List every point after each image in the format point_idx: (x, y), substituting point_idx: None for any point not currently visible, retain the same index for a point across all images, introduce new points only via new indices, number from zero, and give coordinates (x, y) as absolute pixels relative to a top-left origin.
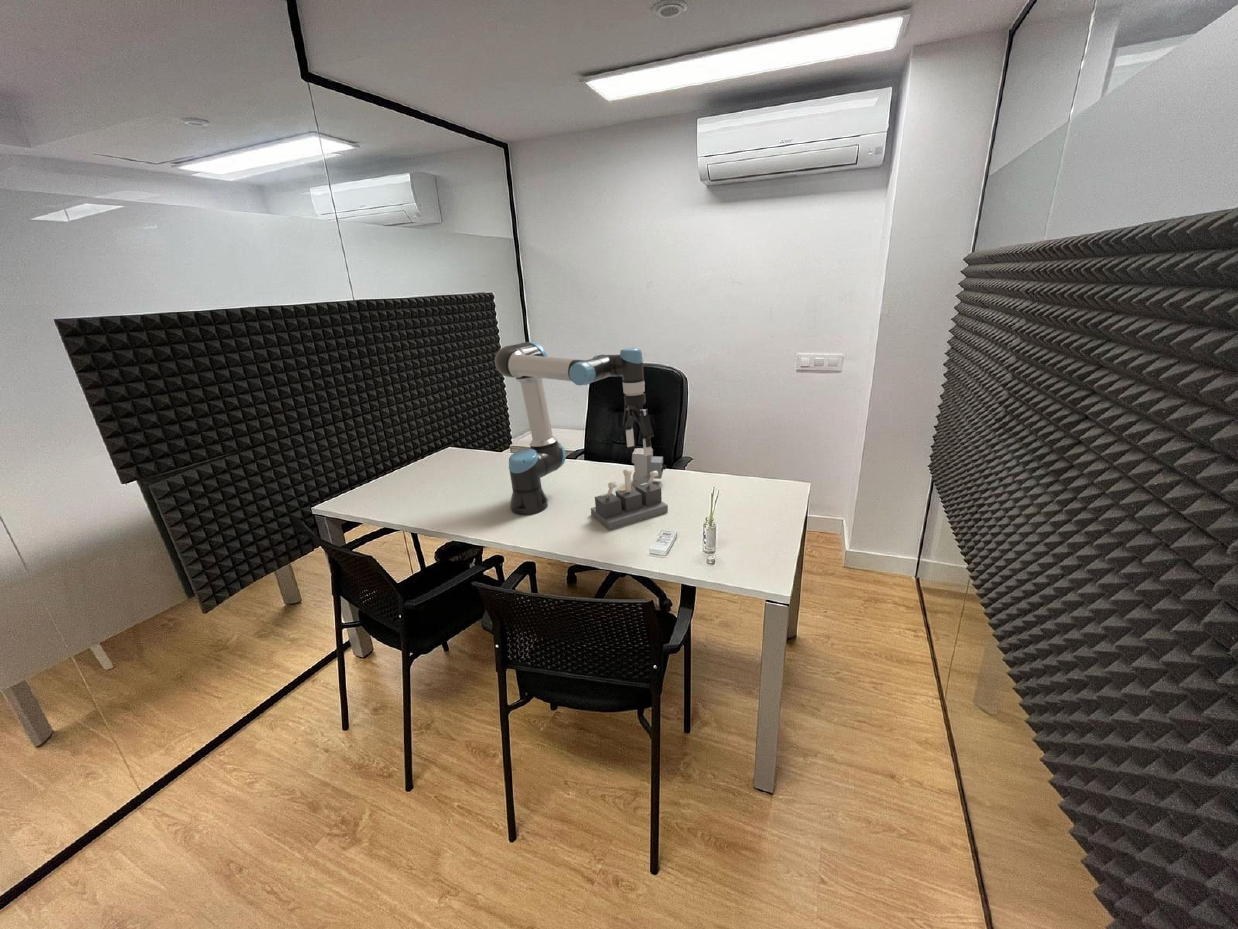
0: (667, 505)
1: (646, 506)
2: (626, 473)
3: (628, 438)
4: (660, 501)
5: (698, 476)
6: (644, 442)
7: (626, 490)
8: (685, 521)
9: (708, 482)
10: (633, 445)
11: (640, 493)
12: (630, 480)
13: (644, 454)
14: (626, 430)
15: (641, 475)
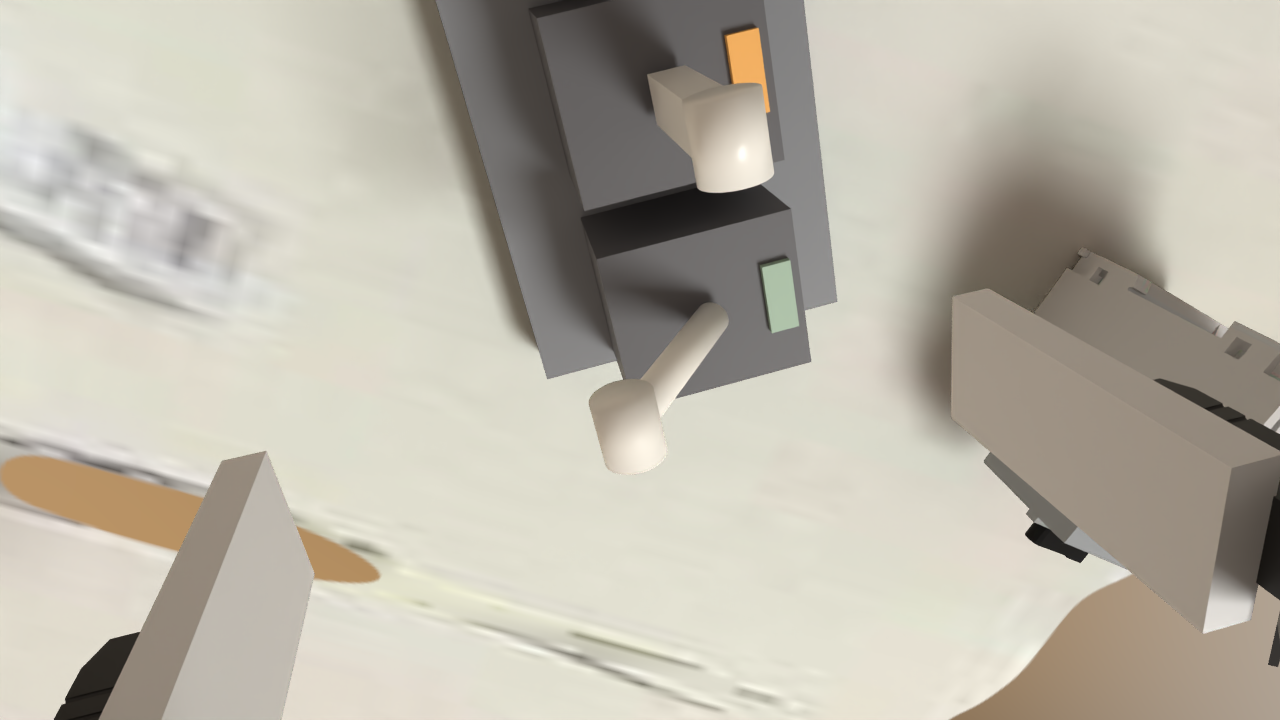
0: (547, 376)
1: (581, 218)
2: (683, 110)
3: (1060, 393)
4: (612, 346)
5: (956, 667)
6: (128, 684)
7: (665, 73)
8: (359, 420)
9: (847, 692)
10: (956, 405)
11: (598, 204)
12: (684, 146)
13: (234, 473)
14: (1239, 467)
15: (1094, 342)
